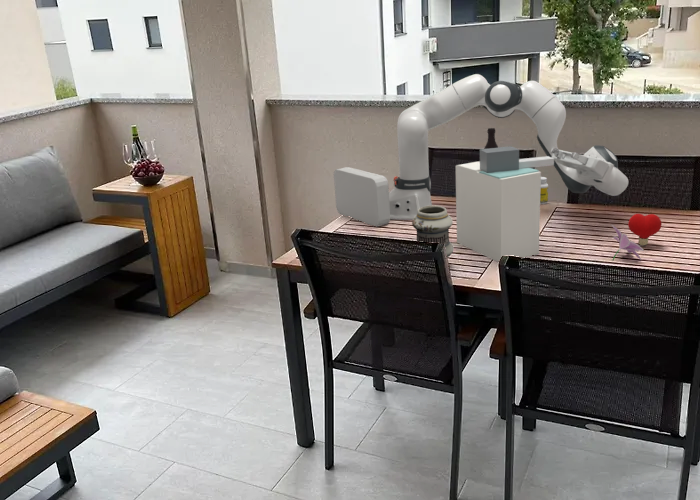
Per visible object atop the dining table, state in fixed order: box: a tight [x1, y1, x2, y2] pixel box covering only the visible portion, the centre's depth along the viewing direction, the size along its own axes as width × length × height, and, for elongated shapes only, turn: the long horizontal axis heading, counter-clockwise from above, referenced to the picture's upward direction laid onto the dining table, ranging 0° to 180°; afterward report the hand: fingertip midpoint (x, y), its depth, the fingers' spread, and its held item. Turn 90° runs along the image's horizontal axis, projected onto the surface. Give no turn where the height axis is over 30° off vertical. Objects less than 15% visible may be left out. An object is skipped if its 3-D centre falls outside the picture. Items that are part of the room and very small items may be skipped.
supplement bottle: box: [540, 176, 549, 205], centre depth 254 cm, size 5×5×10 cm
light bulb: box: [627, 213, 662, 247], centre depth 202 cm, size 9×7×10 cm
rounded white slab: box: [333, 166, 391, 228], centre depth 249 cm, size 29×8×18 cm, turn 33°
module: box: [479, 145, 554, 173], centre depth 199 cm, size 22×6×6 cm, turn 99°
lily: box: [611, 224, 645, 261], centre depth 193 cm, size 12×12×10 cm
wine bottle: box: [483, 127, 499, 149], centre depth 250 cm, size 7×7×30 cm
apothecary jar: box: [411, 204, 455, 268], centre depth 196 cm, size 12×12×18 cm
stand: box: [455, 160, 542, 263], centre depth 206 cm, size 14×24×26 cm, turn 24°
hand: (562, 152), depth 211 cm, fingers open, 8 cm apart
